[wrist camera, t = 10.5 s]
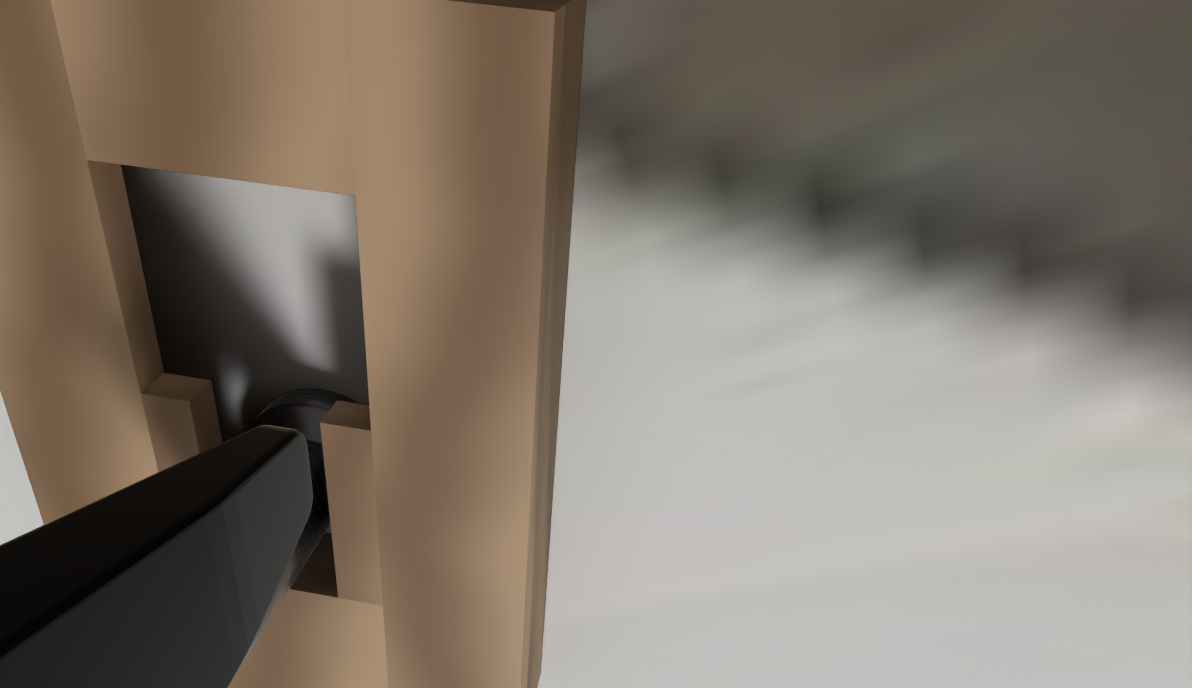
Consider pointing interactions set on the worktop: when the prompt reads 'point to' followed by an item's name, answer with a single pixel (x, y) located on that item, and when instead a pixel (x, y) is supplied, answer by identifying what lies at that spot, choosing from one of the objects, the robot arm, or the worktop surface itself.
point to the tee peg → (305, 416)
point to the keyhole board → (388, 281)
